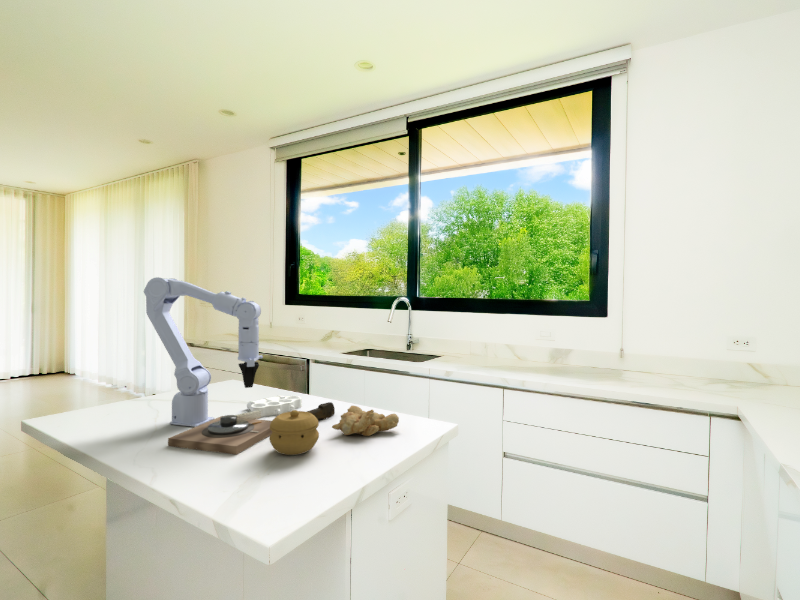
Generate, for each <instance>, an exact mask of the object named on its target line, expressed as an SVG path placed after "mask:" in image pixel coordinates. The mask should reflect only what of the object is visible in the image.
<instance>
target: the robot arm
mask: <svg viewBox="0 0 800 600" xmlns="http://www.w3.org/2000/svg"><path fill="white" fill-rule="evenodd" d="M143 294H144V296H145V301H146V302H145V303H146V304H145V306H146V307H145V311H146V315H147V317H148V319H149V321H150V323H151V325H152V326H153V328H154V330H155V331H156V333H157V335H158V338H159V339H160V341H161V342H162V345H163V346H164V348H165V350H166V352H167V354H168V355H169V357H170V359H171V361H172V363H173V364H174V366H175V368H174V372H173V375H174V377H175V378H176V386H177V390H179V391H178V392H176V393H175V394H174V396H173V398H172V400H171V421H170V422H169V424H170V425H177V426H186V427H192V428H194V427H196V426H199V425H201V424H204V423H206V422H209V421H211V420H213V419H216V418H215V417H213V416H209V389H208V386H209V384H210V383H211V380H212V373H211V372H210V371H209V370H208V369H207V368H205V367H204V366H203V364H202V362H201V361H200V360H198V359H196V358H195V357H194V355H193V353H192V351H191V349H190V347H188V345H187V342H186V340H185V339H184V337H183V335H182V333H181V332H180V329H179V328H178V326H177V324H176V323H175V320H174V319H173V317H172V314H171V313H170V311H171V308H172V306H173V304H175V302H176V301H177V300H178V299H179V298H180V297H183V296H186V297H187V296H188V297H190V298H194V299H196V300H199V301H202V302H206V303H209V304H211V305H212V307H213V309H214V310H216V311H218V312H222V313H223V314H224V313H225V314H226V315H230V316H233V317H236V318H237V319H238V347H237V348H238V349H237V350H238V352H237V353H238V356H237V360H238V361H241V363H238V364H237V365H238V368H239V369H240V371H241V374H242V380H243V381H242V382H243V385H244V388H245V389H247V388H250V389H251V388H253V386H254V382H255V377H256V375H257V374H256V373H257V372H258V371H257V370H258V369H259V367H260V364H259V362H258V360H259V359H263V358H264V357H263V355H262V354H261V355H260V353H259V352H260V351H259V350H260V347H259V345H260V342H259V341H260V340H259V339H260V336H259V335H260V334H259V333H260V325H259V318H260V316H261V313H262V309H261V306H260V304H258V303H257V302H255V301H254V300H249V301H247V297H239V296H236V295H234V294H232V292H231V291H228V290H227V291H225V292H224V291H220V292H217V293H215V292H213V291H210V290H208V289H206V288H203V287H200V286H198V285H196V284H194V283H191V282H188V281H186V280H185V281H184V280H179V279H176V278H162V277H159V276H158V277H157V276H155V277H153V278H151V279H150V280H148V281H147V283H146V285H145V288H144V290H143ZM242 362H243V363H242Z"/></svg>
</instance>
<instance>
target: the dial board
mask: <svg viewBox="0 0 800 600" xmlns="http://www.w3.org/2000/svg"><path fill="white" fill-rule="evenodd" d="M222 416H223V415H221V416H218V417H216V418H215V419H213V420H211V421H209V422H206V423H204V424H201V425H199V426H196V427H192V428H190V429H186V430H185V431H182V432H180V433H177V434H175V435H173V436H170V437H168V438H167V446H168V447H173V448H180V449H181V448H182V449H187V448H188V449H189V450H196V451H204V452H212V453H220V454H221V453H222V454H228V455H235V456H237V455H239V454H241V453H242V452H244V451H246V450H247V449H249V448H251V447H253V446H254V445H256V444H258V443H260V442H261V441H263V440H264V439H266V438H268V437H270V435H271V434H272V431H271V430H270V423H271V422H272V420H268V419H267V420H266V419H254V420H250V421H248V428H247V429H246V430H244V431H241V432H238V433H233V434H224V435H218V434H211V433H209V432H208V426H209V425H210V424H212V423H214V422H217V421H220V418H221V417H222Z"/></svg>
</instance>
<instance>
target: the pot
mask: <svg viewBox="0 0 800 600" xmlns="http://www.w3.org/2000/svg"><path fill="white" fill-rule="evenodd" d="M271 421H272V422H271V423H270V430H271V431H272V434H271V435H270V436H269V438H268V440H269V442H270V445H271V447H272V448H273V449H274V450H275V451H276V452H278V454H281V455H287V456H294V455H295V456H296V455H301V454H304V453H307V452H309V451H310V450H311V449H313V448H314V446H315V445H316V443H317V442H318V439H319V438H320V433H319V431H318V427H319V423H320V422H319V419H317V418H316V417H315V416H314V415H313V414H311V413H309V412H307V411H303V410H302V411H301V410H297V409H294V410H293V411H290V412H285V413H282V414H278V415H277V416H275V417H274V418H273V419H272V420H271Z"/></svg>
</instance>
